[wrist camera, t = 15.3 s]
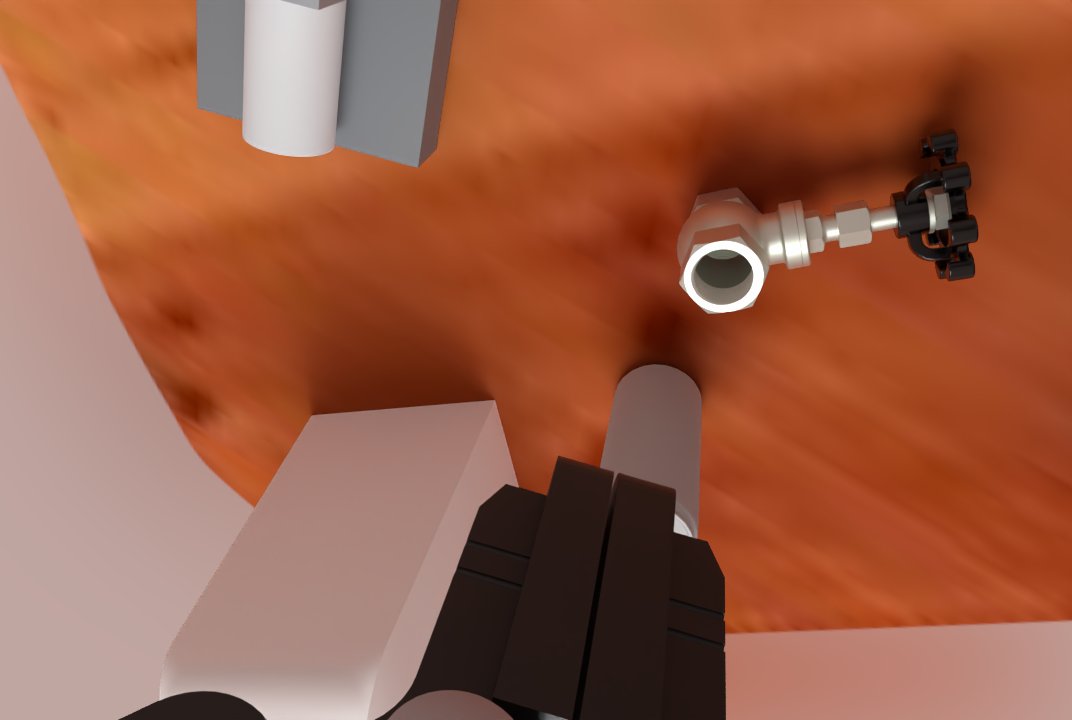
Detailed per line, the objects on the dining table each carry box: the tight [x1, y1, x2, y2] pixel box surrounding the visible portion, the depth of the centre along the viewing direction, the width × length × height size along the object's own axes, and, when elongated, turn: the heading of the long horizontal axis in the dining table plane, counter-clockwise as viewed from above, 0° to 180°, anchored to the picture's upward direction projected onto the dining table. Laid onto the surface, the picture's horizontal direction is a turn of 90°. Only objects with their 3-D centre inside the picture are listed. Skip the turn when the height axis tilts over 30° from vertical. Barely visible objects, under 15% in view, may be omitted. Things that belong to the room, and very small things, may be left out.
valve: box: [677, 129, 978, 314], centre depth 38 cm, size 7×7×12 cm
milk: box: [160, 400, 519, 720], centre depth 43 cm, size 12×12×26 cm
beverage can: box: [600, 364, 702, 539], centre depth 42 cm, size 5×5×12 cm
